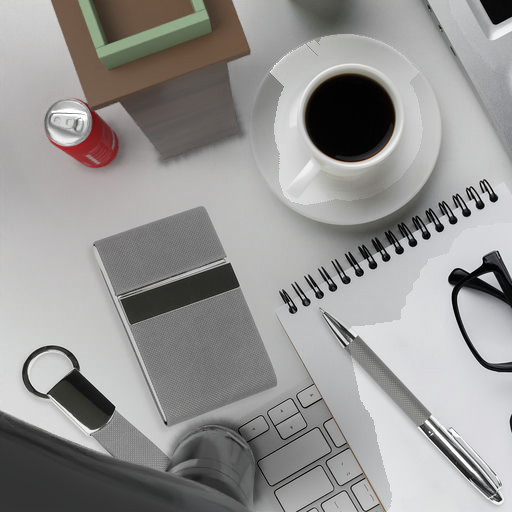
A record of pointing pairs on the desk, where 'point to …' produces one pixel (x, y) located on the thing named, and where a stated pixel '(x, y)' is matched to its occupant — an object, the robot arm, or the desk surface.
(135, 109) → the stand column
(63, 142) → the beverage can
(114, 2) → the can holder
